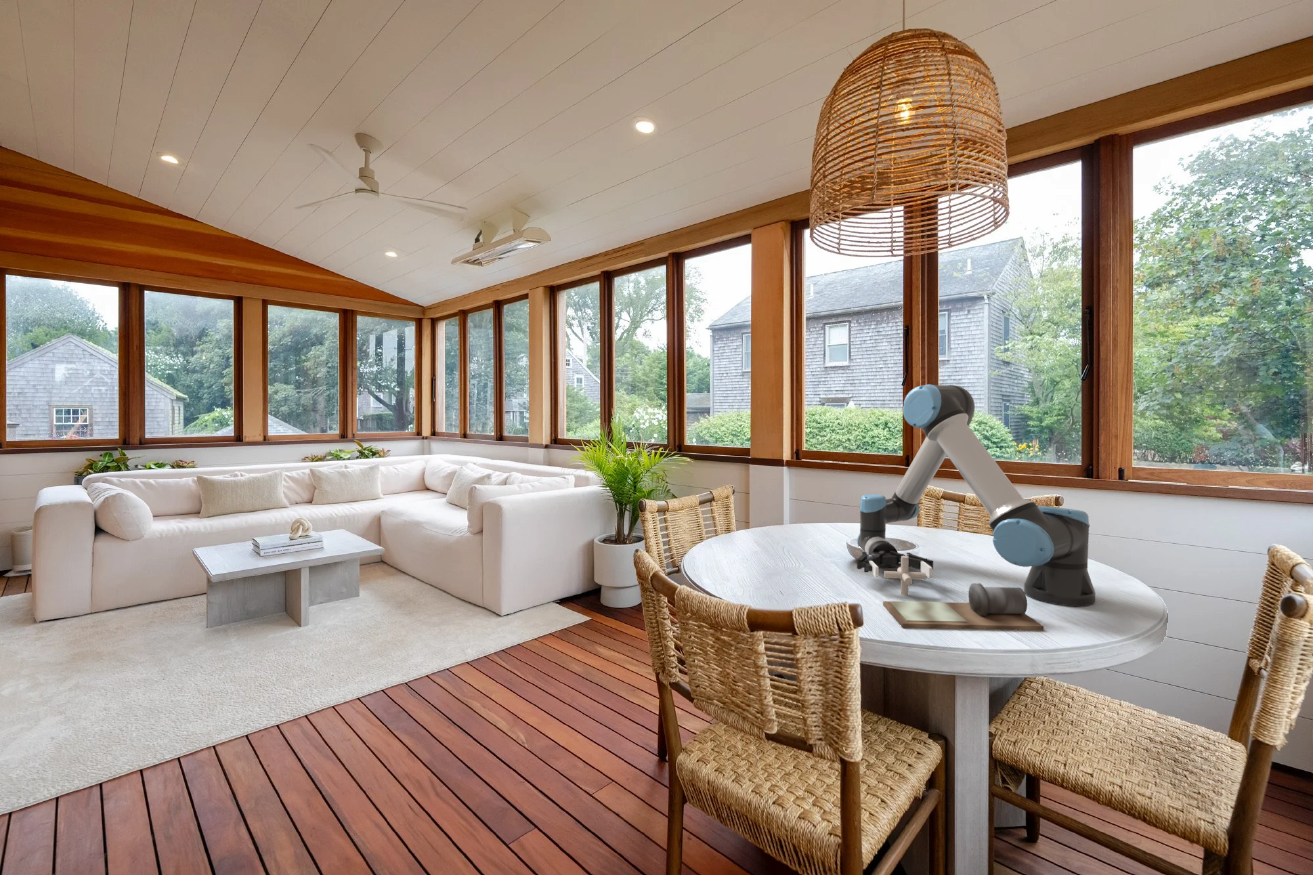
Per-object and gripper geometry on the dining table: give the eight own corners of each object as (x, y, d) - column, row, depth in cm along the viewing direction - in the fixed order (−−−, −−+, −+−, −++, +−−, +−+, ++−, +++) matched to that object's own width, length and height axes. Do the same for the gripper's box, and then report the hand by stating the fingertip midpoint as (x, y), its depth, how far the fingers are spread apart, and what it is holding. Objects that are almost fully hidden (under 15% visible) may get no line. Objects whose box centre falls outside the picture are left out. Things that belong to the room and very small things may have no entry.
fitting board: (1009, 607, 144) (1010, 576, 144) (1043, 630, 129) (1044, 595, 129) (883, 605, 147) (883, 574, 147) (902, 627, 132) (902, 593, 132)
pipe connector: (929, 601, 149) (930, 562, 149) (887, 599, 151) (888, 560, 151) (920, 589, 159) (920, 552, 159) (881, 587, 161) (881, 551, 161)
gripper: (924, 565, 175) (953, 587, 154) (838, 564, 177) (854, 585, 156) (924, 540, 174) (953, 559, 153) (838, 539, 177) (854, 557, 156)
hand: (903, 572), depth 155 cm, fingers open, 13 cm apart
